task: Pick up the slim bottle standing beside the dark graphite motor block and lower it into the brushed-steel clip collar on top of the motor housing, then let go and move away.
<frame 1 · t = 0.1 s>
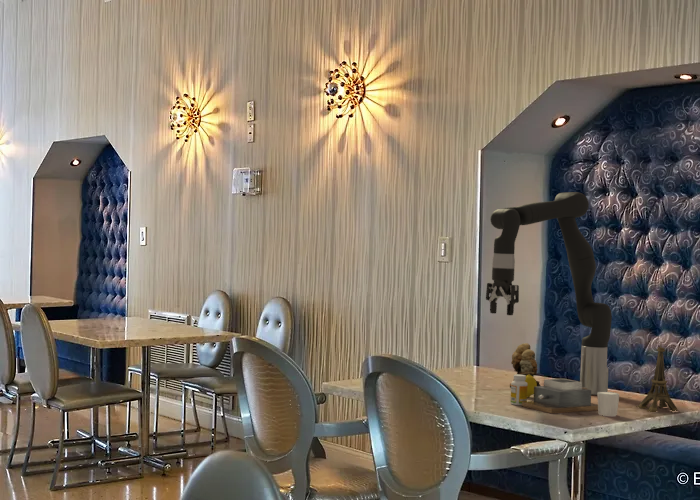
hand: (501, 314, 338), 29 cm above the table, tool pointing down, fingers open, 8 cm apart
motor: (561, 408, 324), on the table
white cup: (607, 415, 315), on the table
lemon: (528, 397, 346), on the table
eiffel tower: (658, 410, 329), on the table
supplement bottle: (518, 404, 329), on the table
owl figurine: (526, 389, 367), on the table
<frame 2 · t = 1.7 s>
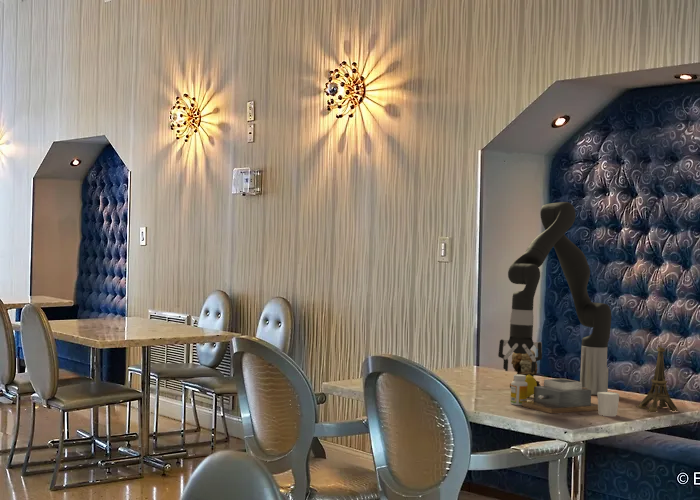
hand: (519, 371, 329), 11 cm above the table, tool pointing down, fingers open, 8 cm apart
nothing on the table moved.
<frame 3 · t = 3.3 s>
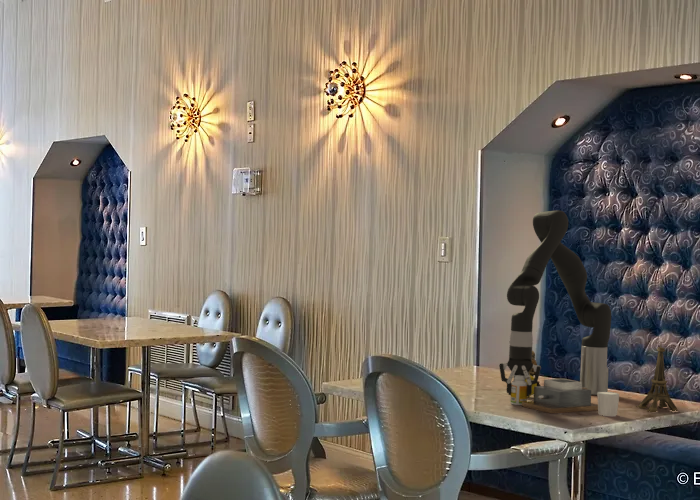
hand: (518, 395, 329), 3 cm above the table, tool pointing down, fingers closed on supplement bottle, 5 cm apart
supplement bottle: (518, 404, 329), on the table, touching gripper
everything else where it was.
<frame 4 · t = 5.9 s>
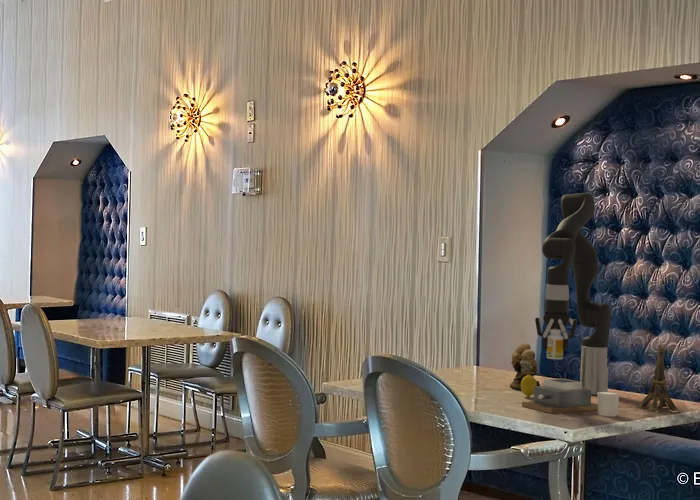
hand: (555, 349, 325), 19 cm above the table, tool pointing down, fingers closed on supplement bottle, 5 cm apart
supplement bottle: (554, 359, 325), point 16 cm above the table, touching gripper
everything else where it was.
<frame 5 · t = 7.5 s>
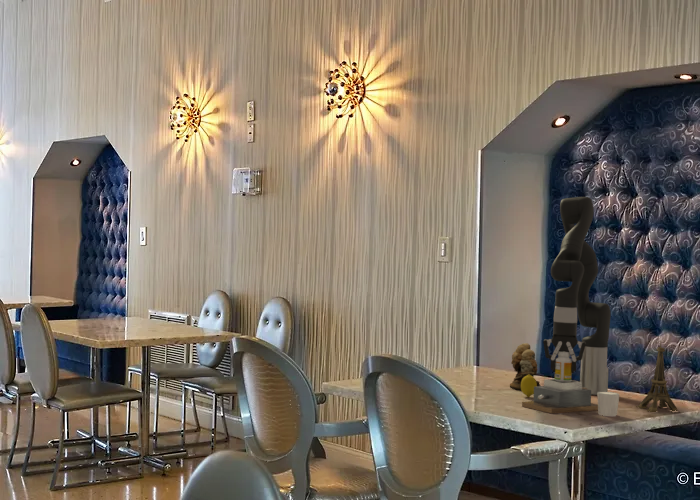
hand: (563, 372, 324), 12 cm above the table, tool pointing down, fingers closed on supplement bottle, 5 cm apart
supplement bottle: (562, 381, 324), point 9 cm above the table, touching gripper
everything else where it was.
when the fingers open (11 cm above the table, at t = 8.6 s): supplement bottle drops 1 cm, resting on motor.
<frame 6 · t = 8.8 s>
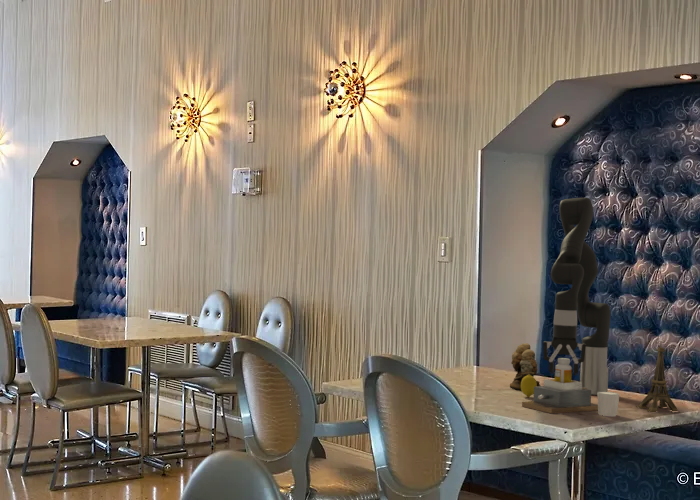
hand: (563, 374, 324), 11 cm above the table, tool pointing down, fingers open, 6 cm apart
supplement bottle: (562, 388, 324), point 6 cm above the table, touching motor
everything else where it was.
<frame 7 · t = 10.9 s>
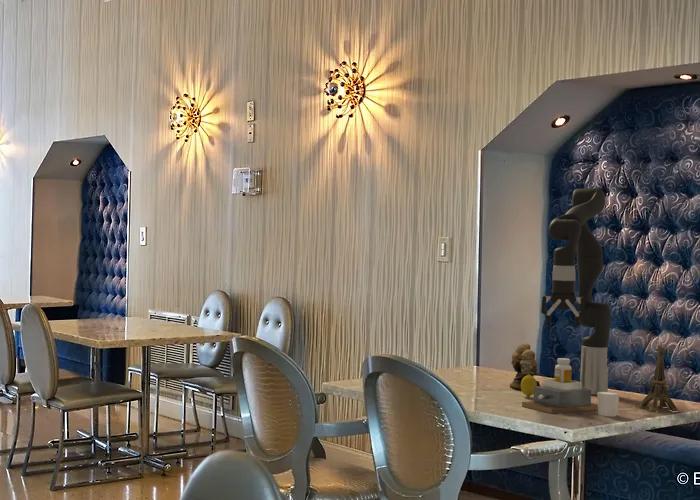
hand: (562, 327, 331), 26 cm above the table, tool pointing down, fingers open, 8 cm apart
nothing on the table moved.
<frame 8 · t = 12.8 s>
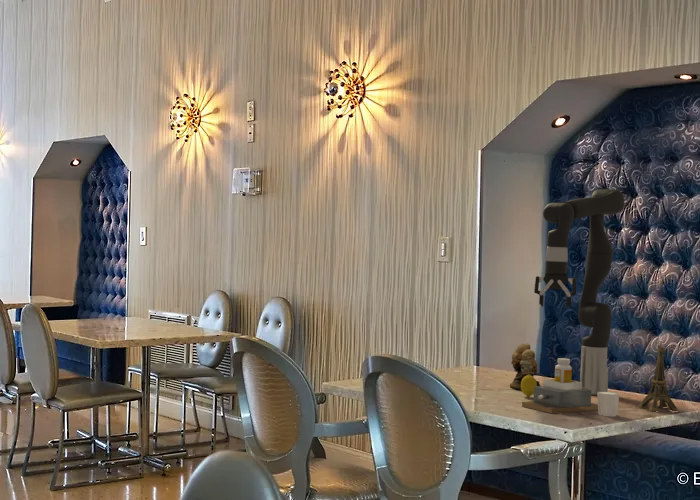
hand: (554, 306, 343), 32 cm above the table, tool pointing down, fingers open, 8 cm apart
nothing on the table moved.
at the end: supplement bottle 0.1 cm off-centre on the motor, point 6.3 cm above the motor's base; supplement bottle tilted 0°; the gripper is holding nothing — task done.
